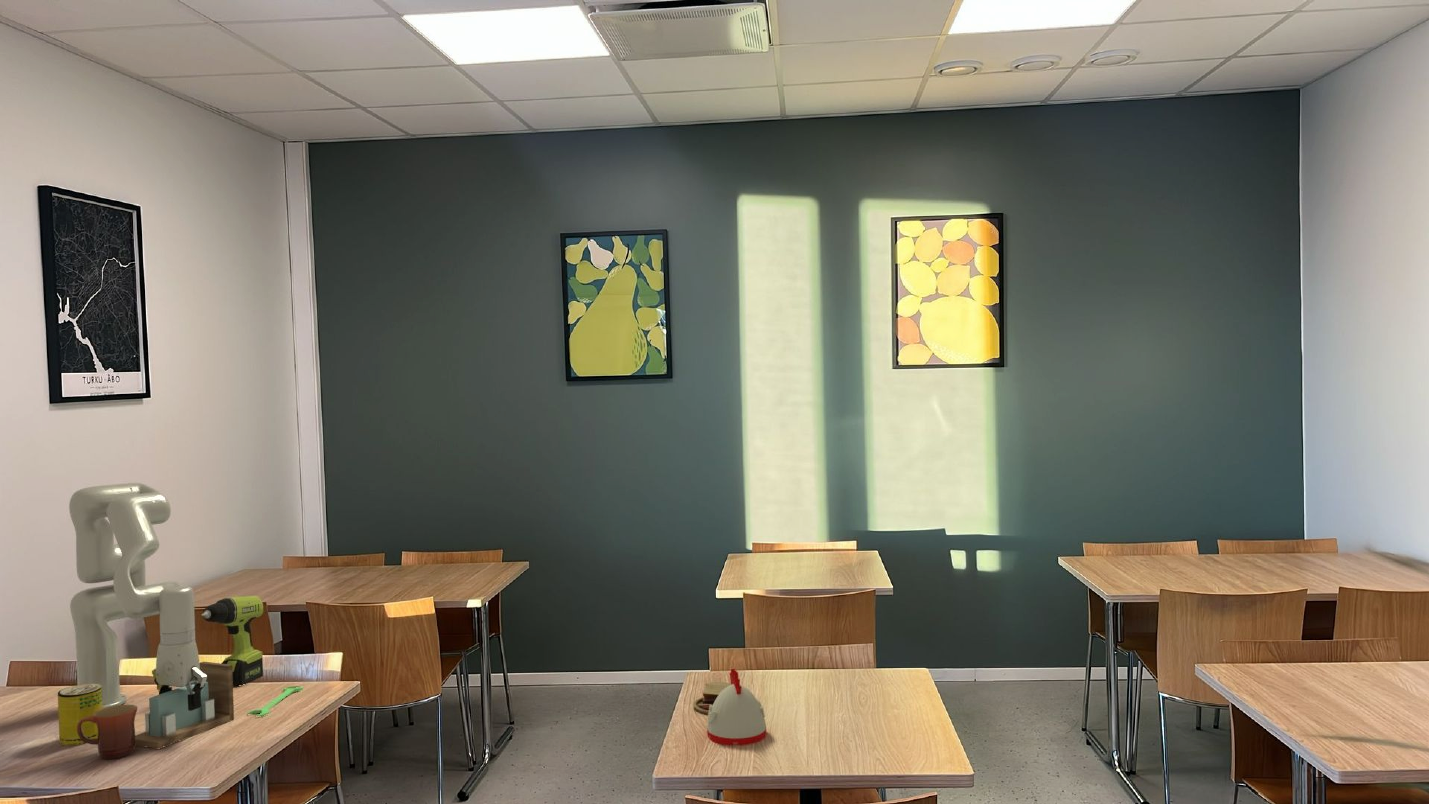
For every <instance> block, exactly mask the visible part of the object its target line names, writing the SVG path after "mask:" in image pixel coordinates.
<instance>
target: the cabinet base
mask: <svg viewBox="0 0 1429 804" xmlns="http://www.w3.org/2000/svg"><path fill="white" fill-rule="evenodd" d="M199 664H200V671H202V672H203V673H204V674H205V675H206V676H207V679H206V682H208V694H209V699H208V700H205V701H202V719H203V720H202V721H199V722H197V723H194V724H191V725H189V726H186V727H184V728H181V729H178V730H176V723H175V713H169V714H167V715H164V716H162V723H163V736H160V737H157V736H151V735H150V711H148V712H145V713H144V722H145V723H144V724H145V727H144V728H145V731H144V732H142V733H139V734H135V740H136V742H135V746H136V745H138V747H142V746H147V747H146V748H148V747H152V748H151V749H154V748H161V747H163V746H166V747H168V746H167V745H169V744H171V743H174V744H176V743H178V742H177V741H179V740H181V741H183V740H182V739H184V740H186V739H188V738H187V737H189V738H191V737H194V736H196V735H198V733H199V734H201V732H202V733H204V732H206V730H207V731H209V730H211V729H210V728H212V729H214V728H216V726H217V727H219V726H221V725H224V724H226V723H225V722H227V723H229V722H231V721H230V720H232V719H234V720H235V713H234V712H235V711H234V710H235V709H234V708H235V707H234V704H235V703H234V686H233V673H232V665H229V664H221V663H219V662H211V661H210V662H209V661H201V662H200V661H199ZM228 721H229V722H228ZM232 721H233V720H232ZM223 723H224V724H223ZM218 725H219V726H218ZM203 731H204V732H203ZM195 734H196V735H195ZM193 735H194V736H193ZM185 738H186V739H185ZM175 742H176V743H175ZM179 742H180V741H179ZM171 745H172V744H171ZM169 746H170V745H169ZM161 749H162V748H161Z"/></svg>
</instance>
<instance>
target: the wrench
mask: <svg viewBox="0 0 1429 804" xmlns="http://www.w3.org/2000/svg"><path fill="white" fill-rule="evenodd" d="M296 687H299V688H296ZM303 689H304V687H303V686H301V685H298V686H297V685H295V686H293V685H292V686H286V687H284V688H283V692H281V694H279V695H278V696H277V697H275V698H274V699H272V700H271V701H270V702H268V703H267V704H265V705H264V706H263V707H262V708H257V709H253V710H250V711H248V712H247V713H246V715H248V714H252V713H260V714H255V716H254V717H256V716H264V715H266V714H269V713H271V711H270V710H271V709H272V708H273V707H272V706H273V705H275V706H277V705H278V704H279V703H280V702H282V701H283V700H284V699H286V698H287V697H288V696H290V695H291V694H292V693H298V692H297V691H299V692H301V691H300V690H302V691H303ZM286 696H287V697H286ZM285 697H286V698H285ZM282 699H283V700H282ZM281 700H282V701H281ZM278 702H279V703H278ZM277 703H278V704H277ZM271 707H272V708H271ZM269 708H271V709H270V710H269ZM252 715H253V714H252ZM269 715H270V714H269Z"/></svg>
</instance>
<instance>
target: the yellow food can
mask: <svg viewBox="0 0 1429 804" xmlns="http://www.w3.org/2000/svg"><path fill="white" fill-rule="evenodd" d="M57 707H58V709H57V710H58V711H57V712H58V737H59V738H58V739H59V742H58V743H59V744H60V745H62V746H79V744H80V745H84V744H86V743H85V742H83V741H82V740H81V739H80V737H79V735H78V732H77V725H78V722H79V721H80V720H81V719H83V718H85V717H90V716H93V714H94V713H95V712H96V711H98V710H101V709H102V685H100V684H83V685H78V684H77V685H73V686H69V687H65V688H63V689H61V690H59V691H58V692H57ZM82 731H83V734H84V735H85V736H86V737H87V738H90V739H95V738H97V737H98V728H97V725H96V724H95V723H93V722H90V721H86V722H83V723H82Z"/></svg>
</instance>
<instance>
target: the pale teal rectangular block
mask: <svg viewBox="0 0 1429 804" xmlns="http://www.w3.org/2000/svg"><path fill="white" fill-rule="evenodd" d="M194 686H195V685H194V684H192V687H193V688H194ZM188 694H190V693H189V691H188V690H187V688H186V686H184V687H176V688H174V689H172V690H171V691H169V692H166V693H163V694H160V695H159V694H158V695H154V696H152V697H149V698H148V699H149V700H148V703H149V712H150V735H151V736H157V737H160V736H163V723H162V716H164V715H167V714H169V713H175V723H176V730H178V729H181V728H184V727H186V726H189V725H191V724H194V723H197V722H199V721H202V720H203V719H202V701H205V700H208V699H209V694H208V682H205V686H204V687H203V690H202V691H201V707H200V708H197V709H195V710H192V711H189V710H188Z"/></svg>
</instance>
